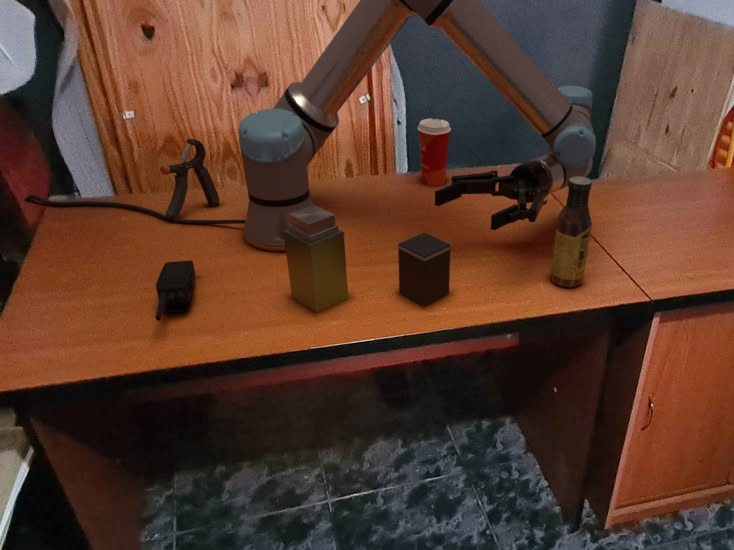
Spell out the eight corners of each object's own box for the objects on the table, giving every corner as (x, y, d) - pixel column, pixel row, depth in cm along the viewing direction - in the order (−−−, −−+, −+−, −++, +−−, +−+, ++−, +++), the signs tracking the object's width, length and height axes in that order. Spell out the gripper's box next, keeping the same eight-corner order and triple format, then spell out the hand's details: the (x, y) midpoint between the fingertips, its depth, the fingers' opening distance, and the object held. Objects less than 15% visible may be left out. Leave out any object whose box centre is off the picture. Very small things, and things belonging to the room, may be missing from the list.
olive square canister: (291, 297, 121) (280, 213, 112) (323, 283, 126) (315, 201, 116) (316, 313, 118) (307, 227, 108) (348, 298, 122) (342, 214, 112)
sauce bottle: (581, 291, 128) (597, 190, 116) (547, 286, 129) (560, 185, 117) (583, 274, 133) (599, 176, 122) (551, 269, 134) (564, 171, 122)
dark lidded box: (398, 293, 124) (397, 243, 118) (424, 280, 128) (424, 232, 122) (424, 307, 121) (424, 256, 115) (449, 294, 125) (451, 244, 119)
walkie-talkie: (206, 265, 124) (197, 316, 108) (185, 289, 126) (173, 343, 109) (175, 244, 121) (161, 293, 105) (154, 269, 122) (137, 322, 106)
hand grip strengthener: (164, 221, 142) (147, 149, 133) (214, 202, 150) (201, 133, 141) (171, 224, 141) (154, 152, 132) (221, 205, 149) (208, 136, 141)
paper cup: (421, 173, 170) (421, 116, 161) (451, 176, 169) (453, 119, 161) (414, 185, 164) (414, 126, 155) (446, 189, 163) (447, 130, 155)
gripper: (585, 217, 132) (516, 253, 119) (487, 179, 145) (414, 208, 131) (591, 179, 127) (519, 213, 114) (489, 144, 140) (414, 170, 127)
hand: (463, 210), depth 123 cm, fingers open, 13 cm apart
